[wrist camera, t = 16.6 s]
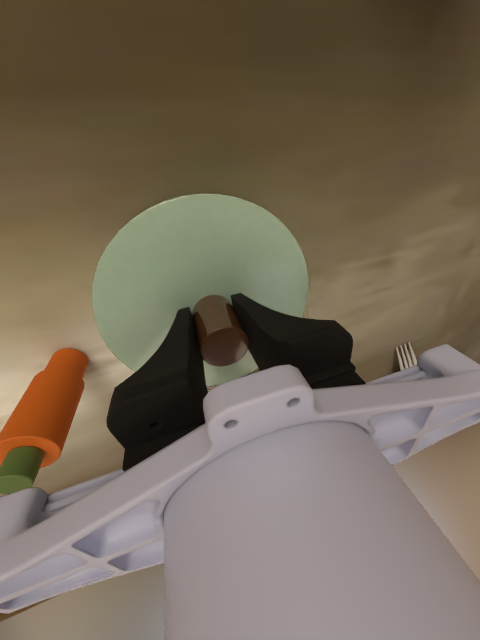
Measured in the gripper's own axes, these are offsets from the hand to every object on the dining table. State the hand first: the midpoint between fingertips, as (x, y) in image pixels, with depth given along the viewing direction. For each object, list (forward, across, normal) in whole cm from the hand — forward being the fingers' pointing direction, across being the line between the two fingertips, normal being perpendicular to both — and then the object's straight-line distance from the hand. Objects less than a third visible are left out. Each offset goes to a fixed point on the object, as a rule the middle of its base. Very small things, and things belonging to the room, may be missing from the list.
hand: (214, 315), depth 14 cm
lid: (+1, 0, 0) cm, 1 cm away
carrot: (+5, +12, +4) cm, 13 cm away
